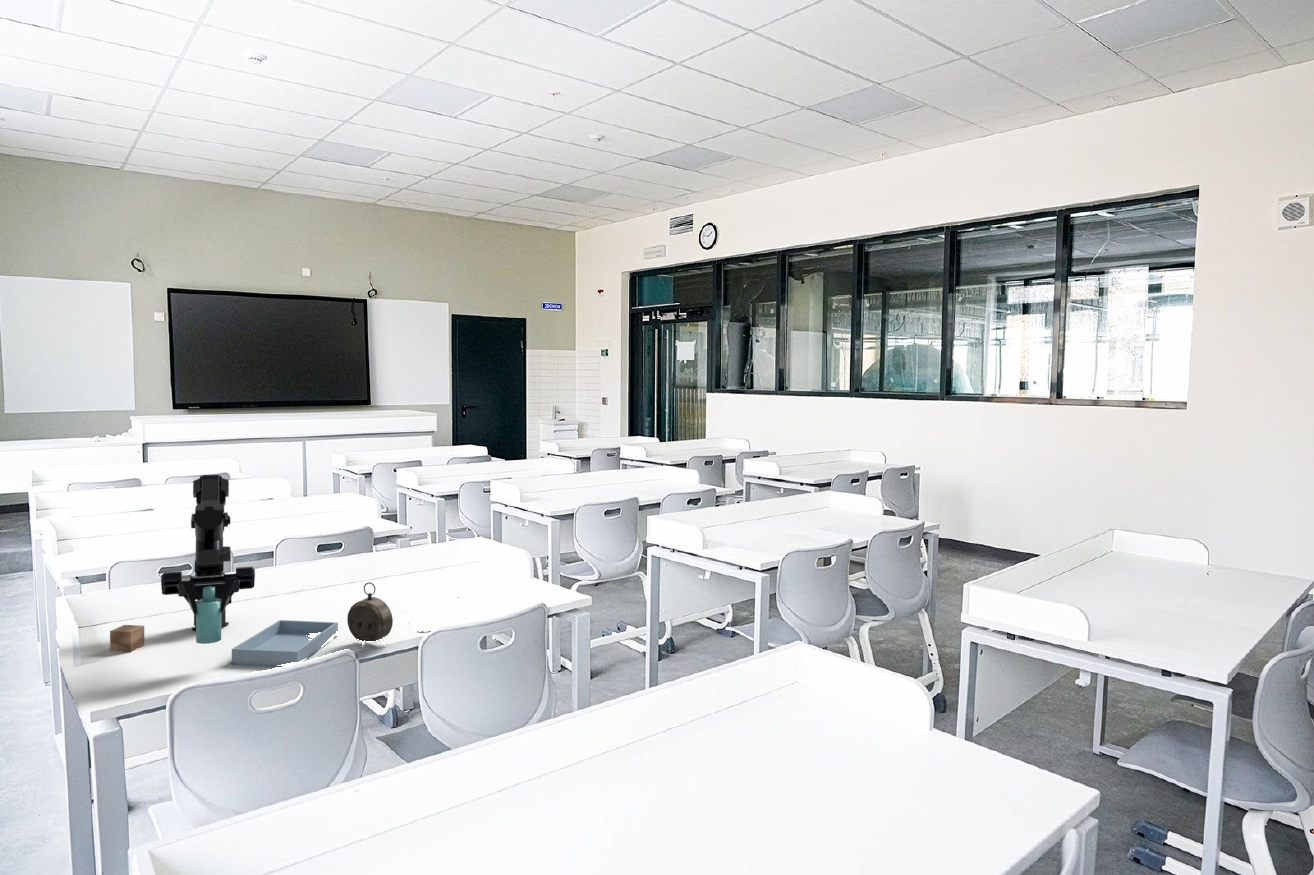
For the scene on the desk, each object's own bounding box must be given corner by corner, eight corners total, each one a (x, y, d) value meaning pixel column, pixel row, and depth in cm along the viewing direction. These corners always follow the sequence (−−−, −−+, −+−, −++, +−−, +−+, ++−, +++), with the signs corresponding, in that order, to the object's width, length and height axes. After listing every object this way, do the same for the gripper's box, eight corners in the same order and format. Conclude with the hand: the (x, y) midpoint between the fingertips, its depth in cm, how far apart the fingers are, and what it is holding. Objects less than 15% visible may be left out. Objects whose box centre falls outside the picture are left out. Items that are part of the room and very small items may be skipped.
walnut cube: (144, 645, 199) (144, 625, 199) (131, 652, 194) (130, 631, 194) (124, 645, 199) (123, 624, 199) (110, 651, 194) (109, 631, 194)
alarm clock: (393, 646, 206) (394, 582, 205) (379, 652, 201) (380, 587, 199) (357, 640, 209) (358, 577, 208) (343, 646, 204) (343, 582, 203)
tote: (337, 636, 212) (338, 622, 211) (297, 667, 188) (297, 651, 188) (279, 633, 212) (279, 620, 212) (231, 664, 189) (231, 649, 188)
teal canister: (224, 636, 187) (225, 585, 186) (216, 643, 182) (216, 590, 181) (201, 636, 186) (201, 584, 185) (192, 643, 181) (192, 590, 180)
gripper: (161, 536, 182) (158, 598, 173) (254, 532, 190) (256, 590, 182) (163, 564, 189) (160, 624, 180) (253, 558, 198) (254, 615, 189)
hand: (208, 613), depth 182 cm, fingers closed on teal canister, 5 cm apart
